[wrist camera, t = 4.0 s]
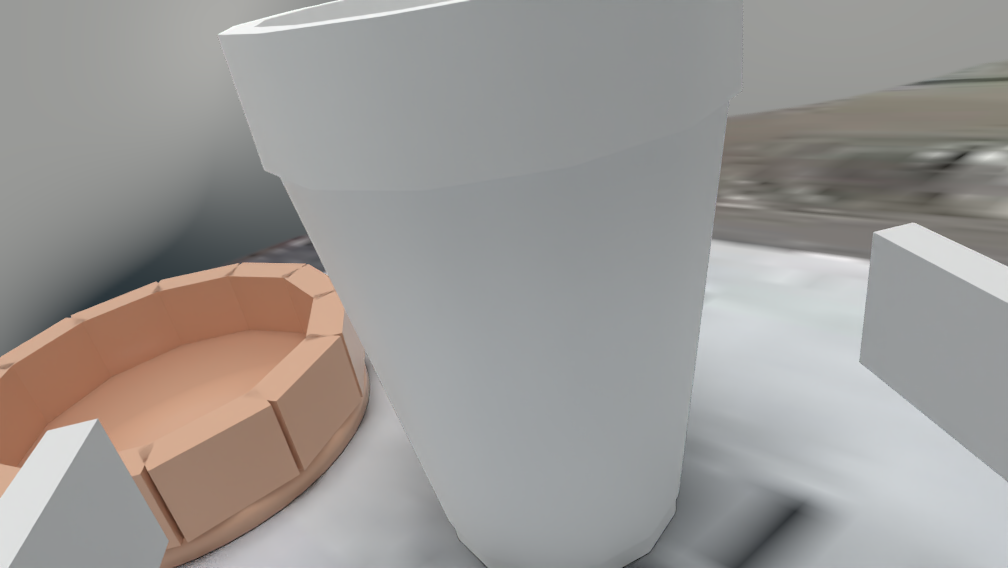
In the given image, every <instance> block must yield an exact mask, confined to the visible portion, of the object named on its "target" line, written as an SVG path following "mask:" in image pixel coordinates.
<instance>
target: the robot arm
mask: <svg viewBox="0 0 1008 568" xmlns="http://www.w3.org/2000/svg"><path fill="white" fill-rule="evenodd" d="M859 362H860V363H861V364H862V365H864V366H865V367H866V368H867V369H869V370H870V371H871V372H872V373H874V374H875V375H876V376H877V377H878V378H880V379H881V380H882V381H883V382H885V383H886V384H887V385H888V386H890V387H891V388H892V389H893V390H895V391H896V392H897V393H898V394H900V395H901V396H902V397H903V398H904V399H906V400H907V401H908V402H909V403H911V404H912V405H913V406H914V407H916V408H917V409H918V410H919V411H921V412H922V413H923V414H924V415H926V416H927V417H928V418H929V419H930V420H932V421H933V422H934V423H935V424H937V425H938V426H939V427H940V428H942V429H943V430H944V431H945V432H947V433H948V434H949V435H950V436H951V437H953V438H954V439H955V440H956V441H958V442H959V443H960V444H961V445H963V446H964V447H965V448H966V449H968V450H969V451H970V452H971V453H973V454H974V455H975V456H976V457H977V458H979V459H980V460H981V461H982V462H984V463H985V464H986V465H987V466H989V467H990V468H991V469H992V470H994V471H995V472H996V473H997V474H999V475H1000V476H1001V477H1002V478H1003V479H1005V480H1006V481H1007V482H1008V267H1007V266H1005V265H1003V264H1001V263H999V262H997V261H994V260H992V259H990V258H988V257H986V256H984V255H982V254H980V253H978V252H975V251H973V250H971V249H969V248H967V247H965V246H963V245H961V244H958V243H956V242H954V241H952V240H950V239H948V238H946V237H944V236H941V235H939V234H937V233H935V232H933V231H931V230H929V229H927V228H924V227H922V226H920V225H918V224H916V223H909V224H905V225H901V226H897V227H893V228H889V229H884V230H880V231H876V232H873V241H872V250H871V259H870V268H869V277H868V287H867V296H866V305H865V314H864V324H863V333H862V342H861V351H860V360H859ZM168 542H169V540H168V539H167V537H166V535H165V534H164V532H163V530H162V528H161V527H160V525H159V523H158V521H157V520H156V518H155V516H154V515H153V513H152V511H151V509H150V508H149V506H148V504H147V502H146V501H145V499H144V497H143V496H142V494H141V492H140V490H139V489H138V487H137V485H136V483H135V482H134V480H133V478H132V477H131V475H130V473H129V471H128V470H127V468H126V466H125V464H124V463H123V461H122V459H121V458H120V456H119V454H118V452H117V451H116V449H115V447H114V445H113V444H112V442H111V440H110V439H109V437H108V435H107V433H106V432H105V430H104V428H103V426H102V425H101V423H100V421H99V420H98V419H94V420H90V421H85V422H81V423H77V424H73V425H69V426H65V427H60V428H56V429H52V430H48V431H47V432H46V433H45V434H44V436H43V437H42V439H41V440H40V442H39V443H38V445H37V446H36V447H35V449H34V450H33V452H32V453H31V455H30V456H29V457H28V459H27V460H26V462H25V463H24V465H23V466H22V468H21V469H20V470H19V472H18V473H17V475H16V476H15V478H14V479H13V481H12V482H11V483H10V485H9V486H8V488H7V489H6V491H5V492H4V494H3V495H2V496H1V498H0V568H160V565H161V562H162V559H163V556H164V553H165V550H166V548H167V545H168Z"/></svg>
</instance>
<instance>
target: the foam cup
mask: <svg viewBox="0 0 1008 568" xmlns="http://www.w3.org/2000/svg"><path fill="white" fill-rule="evenodd" d="M217 36H218V40H219V42H220V45H221V48H222V51H223V54H224V57H225V60H226V62H227V65H228V68H229V71H230V74H231V77H232V80H233V82H234V85H235V88H236V91H237V94H238V97H239V100H240V103H241V105H242V108H243V111H244V114H245V117H246V120H247V123H248V126H249V128H250V131H251V134H252V137H253V140H254V143H255V146H256V148H257V151H258V154H259V157H260V160H261V163H262V166H263V169H264V170H265V171H267V172H269V173H272V174H274V175H276V176H279V177H280V178H281V181H282V183H283V185H284V186H285V189H286V191H287V193H288V194H289V197H290V199H291V201H292V203H293V205H294V207H295V209H296V211H297V213H298V215H299V217H300V219H301V221H302V223H303V225H304V227H305V229H306V231H307V233H308V235H309V237H310V239H311V242H312V244H313V246H314V248H315V250H316V252H317V254H318V256H319V258H320V260H321V262H322V264H323V266H324V268H325V270H326V272H327V274H328V276H329V278H330V280H331V282H332V284H333V286H334V288H335V290H336V292H337V294H338V296H339V298H340V300H341V303H342V305H343V307H344V309H345V311H346V313H347V315H348V317H349V319H350V321H351V323H352V325H353V327H354V329H355V331H356V333H357V335H358V337H359V339H360V341H361V343H362V345H363V347H364V349H365V351H366V353H367V355H368V357H369V359H370V361H371V364H372V366H373V368H374V370H375V372H376V374H377V376H378V378H379V380H380V382H381V384H382V386H383V388H384V390H385V392H386V394H387V396H388V398H389V400H390V402H391V404H392V406H393V408H394V410H395V412H396V414H397V416H398V418H399V420H400V422H401V425H402V427H403V429H404V431H405V433H406V435H407V437H408V439H409V441H410V443H411V445H412V447H413V449H414V451H415V453H416V455H417V457H418V459H419V461H420V463H421V465H422V467H423V469H424V471H425V473H426V475H427V477H428V479H429V481H430V483H431V486H432V488H433V490H434V492H435V494H436V496H437V498H438V500H439V502H440V504H441V506H442V508H443V510H444V512H445V514H446V516H447V518H448V520H449V522H450V523H451V524H452V525H453V526H454V527H455V529H456V532H457V536H458V539H459V540H460V541H461V542H462V543H463V544H464V545H465V546H466V547H467V548H468V549H469V550H470V551H471V552H472V553H474V554H475V555H476V556H477V557H478V558H479V559H480V560H481V561H482V562H483V563H484V564H485V565H486V566H487V567H488V568H622V567H624V566H626V565H628V564H629V563H631V562H633V561H635V560H636V559H638V558H640V557H642V556H643V555H645V554H647V553H649V552H650V551H651V550H652V548H653V546H654V545H655V543H656V542H657V540H658V539H659V537H660V536H661V534H662V533H663V531H664V529H665V528H666V526H667V525H668V523H669V522H670V520H671V519H672V517H673V516H674V514H675V512H676V498H677V496H678V495H679V488H680V480H681V472H682V464H683V457H684V449H685V441H686V433H687V425H688V418H689V410H690V402H691V394H692V386H693V379H694V371H695V363H696V355H697V348H698V340H699V332H700V324H701V316H702V309H703V301H704V293H705V285H706V277H707V270H708V262H709V254H710V246H711V239H712V231H713V223H714V215H715V207H716V200H717V192H718V184H719V176H720V168H721V161H722V153H723V145H724V137H725V129H726V122H727V114H728V106H729V100H730V99H732V98H733V97H735V96H736V95H738V94H739V93H741V92H742V62H743V60H742V59H743V57H742V55H743V43H742V42H743V0H338V1H333V2H329V3H324V4H320V5H316V6H311V7H306V8H302V9H298V10H293V11H289V12H285V13H281V14H277V15H273V16H270V17H266V18H262V19H258V20H254V21H251V22H247V23H243V24H239V25H236V26H233V27H231V28H229V29H227V30H226V31H223V32H222V33H220V34H218V35H217Z"/></svg>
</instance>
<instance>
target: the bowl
mask: <svg viewBox="0 0 1008 568" xmlns="http://www.w3.org/2000/svg"><path fill="white" fill-rule="evenodd" d="M71 317H72V318H65V319H63V320H62V321H60V322H58V323H56V324H55V325H53V326H52V327H50V328H48V329H47V330H45V331H43V332H42V333H40V334H38V335H37V336H35V337H33V338H32V339H30V340H28V341H27V342H25V343H23V344H22V345H20V346H19V347H17V348H15V349H13V350H12V351H10V352H8V353H7V354H5V355H3V356H2V357H0V498H1V496H2V495H3V494H4V492H5V491H6V489H7V488H8V486H9V485H10V483H11V482H12V481H13V479H14V478H15V476H16V475H17V473H18V472H19V470H20V469H21V468H22V466H23V465H24V463H25V462H26V460H27V459H28V457H29V456H30V455H31V453H32V452H33V450H34V449H35V447H36V446H37V445H38V443H39V442H40V440H41V439H42V437H43V436H44V434H45V433H46V432H47V431H48V430H52V429H56V428H60V427H65V426H69V425H73V424H77V423H81V422H85V421H90V420H94V419H98V420H99V421H100V423H101V425H102V426H103V428H104V430H105V432H106V433H107V435H108V437H109V439H110V440H111V442H112V444H113V445H114V447H115V449H116V451H117V452H118V454H119V456H120V458H121V459H122V461H123V463H124V464H125V466H126V468H127V470H128V471H129V473H130V475H131V477H132V478H133V480H134V482H135V483H136V485H137V487H138V489H139V490H140V492H141V494H142V496H143V497H144V499H145V501H146V502H147V504H148V506H149V508H150V509H151V511H152V513H153V515H154V516H155V518H156V520H157V521H158V523H159V525H160V527H161V528H162V530H163V532H164V534H165V535H166V537H167V539H168V540H169V542H168V545H167V548H166V550H165V553H164V556H163V559H162V562H161V565H160V568H174V567H176V566H179V565H181V564H184V563H187V562H189V561H192V560H194V559H196V558H199V557H201V556H203V555H205V554H207V553H209V552H211V551H213V550H215V549H217V548H219V547H221V546H223V545H225V544H227V543H229V542H231V541H233V540H234V539H236V538H238V537H239V536H241V535H243V534H245V533H246V532H248V531H250V530H251V529H253V528H255V527H257V526H258V525H260V524H261V523H262V522H264V521H265V520H267V519H268V518H270V517H271V516H273V515H274V514H276V513H277V512H278V511H280V510H281V509H283V508H284V507H285V506H287V505H288V504H289V503H290V502H292V501H293V500H294V499H295V498H296V497H298V496H299V495H300V494H301V493H303V492H304V491H305V490H306V489H307V488H308V487H310V486H311V485H312V484H313V483H314V482H315V481H316V480H317V479H318V478H319V477H320V476H321V475H322V474H323V473H324V472H325V471H326V470H327V469H328V468H329V467H330V466H331V464H332V463H333V462H334V461H335V460H336V459H337V457H338V456H339V455H340V454H341V453H342V451H343V450H344V449H345V447H346V446H347V444H348V443H349V441H350V440H351V438H352V437H353V436H354V434H355V432H356V430H357V428H358V426H359V424H360V422H361V420H362V418H363V416H364V413H365V410H366V407H367V404H368V399H369V392H370V383H369V374H368V371H367V368H366V365H365V349H364V347H363V345H362V343H361V341H360V339H359V337H358V335H357V333H356V331H355V329H354V327H353V325H352V323H351V321H350V319H349V317H348V315H347V313H346V311H345V309H344V307H343V305H342V303H341V300H340V298H339V296H338V294H337V292H336V290H335V288H334V286H333V284H332V282H331V280H330V278H329V276H328V275H326V274H324V273H323V272H321V271H319V270H318V269H316V268H314V267H312V266H311V265H309V264H308V265H306V264H297V263H242V264H239V263H237V264H233V265H228V266H223V267H219V268H214V269H210V270H205V271H201V272H196V273H191V274H187V275H183V276H178V277H173V278H169V279H164V280H161V281H160V282H159V283H157V282H154V283H151V284H149V285H146V286H144V287H142V288H139V289H136V290H134V291H131V292H129V293H126V294H124V295H121V296H119V297H116V298H114V299H111V300H109V301H106V302H103V303H101V304H98V305H96V306H94V307H91V308H88V309H86V310H83V311H81V312H78V313H76V314H73V315H71Z"/></svg>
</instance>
